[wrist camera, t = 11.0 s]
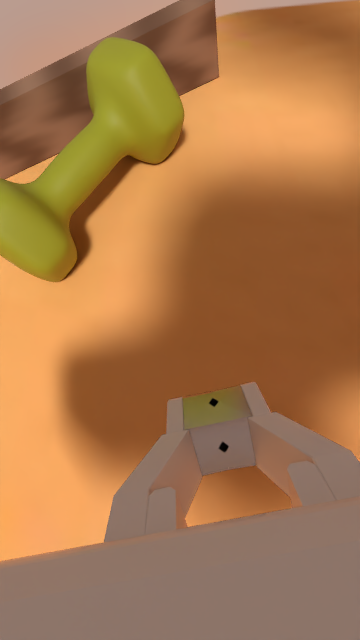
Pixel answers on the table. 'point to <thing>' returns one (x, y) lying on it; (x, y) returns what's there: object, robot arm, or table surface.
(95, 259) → the table surface
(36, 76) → the walnut board
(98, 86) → the dumbbell
